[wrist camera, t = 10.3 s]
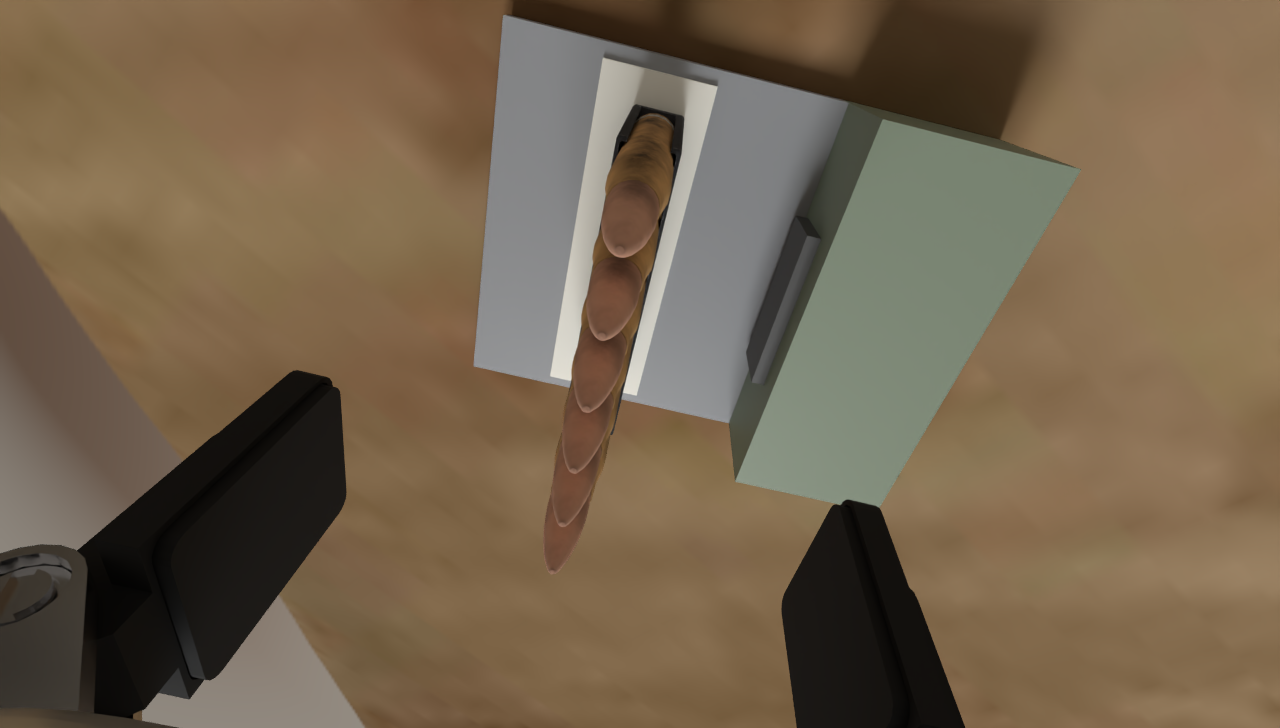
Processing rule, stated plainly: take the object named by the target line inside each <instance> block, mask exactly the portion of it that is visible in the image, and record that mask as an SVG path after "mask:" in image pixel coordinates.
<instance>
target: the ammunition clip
mask: <svg viewBox="0 0 1280 728" xmlns="http://www.w3.org/2000/svg"><path fill="white" fill-rule="evenodd" d="M684 120H685V119H684V117H683V116H682V115H678V114H674V113H670V112H666V111H662V110H658V109H654V108H650V107H646V106H642V105H638V104H635V105H634V106H633V107H632V109H631V111H630V113H629V115H628V116H627V118H626V120H625V122H624V124H623V126H622V128H621V130H620V132H619V134H618V135H617V137H616V143H615V148H614V153H613V159H612V164H611V169H610V171H609V173H608V175H607V180H606V185H605V193H606V196H605V202H604V207H603V212H602V218H601V223H600V228H599V234H598V237H597V239H596V242H595V245H594V250H593V255H592V260H593V266H592V271H591V276H590V282H589V287H588V292H587V296H586V299H585V302H584V305H583V309H582V315H581V324H582V325H581V330H580V335H579V341H578V346H577V349H576V352H575V355H574V359H573V363H572V369H571V383H570V389H569V394H568V397H567V400H566V403H565V407H564V412H563V420H562V424H563V430H562V433H561V436H560V440H559V443H558V446H557V450H556V455H555V463H554V477H553V483H552V487H551V495H550V499H549V503H548V507H547V512H546V518H545V525H544V539H543V544H544V558H545V563H546V566H547V569H548V572H549V573H550V574H555V573H557V572H558V571H559V570H560V569H561V568H562V567H563V566H564V564H565V563H566V562H567V560H568V559H569V557H570V555H571V554H572V552H573V550H574V548H575V546H576V544H577V542H578V540H579V538H580V535H581V532H582V530H583V527H584V524H585V521H586V517H587V513H588V509H589V504H590V502H591V500H592V496H593V492H594V488H595V485H596V483H597V481H598V479H599V477H600V475H601V473H602V471H603V467H604V463H605V459H606V454H607V449H608V444H609V439H610V435H612V434H613V431H614V427H615V423H616V419H617V415H618V411H619V407H620V403H621V399H622V395H623V391H624V387H625V382H626V378H627V374H628V370H629V366H630V362H631V358H632V354H633V350H634V346H635V342H636V338H637V334H638V329H639V325H640V321H641V317H642V313H643V309H644V305H645V301H646V297H647V293H648V289H649V285H650V281H651V277H652V272H653V268H654V264H655V260H656V256H657V252H658V248H659V244H660V240H661V236H662V232H663V228H664V224H665V219H666V215H667V211H668V207H669V203H670V199H671V195H672V191H673V187H674V183H675V179H676V175H677V171H678V167H679V162H680V158H681V154H682V144H683V132H684Z"/></svg>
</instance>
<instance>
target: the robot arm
mask: <svg viewBox="0 0 1280 728" xmlns="http://www.w3.org/2000/svg"><path fill="white" fill-rule="evenodd" d="M345 499H346V477H345V461H344V445H343V429H342V413H341V397H340V391H339V389H338V388H336V387H333V385H332V381H331V380H330V378H327V377H324V376H320V375H316V374H311V373H307V372H303V371H299V370H296V371H292V372H291V373H289V374H288V375H287V376H285V377H284V378H283V379H282V380H281V381H279V382H278V383H277V384H276V385H275V386H274V387H272V388H271V389H270V390H269V391H268V392H266V393H265V394H264V395H263V396H262V397H261V398H259V399H258V400H257V401H256V402H255V403H253V404H252V405H251V406H250V407H249V408H248V409H246V410H245V411H244V412H243V413H242V414H240V415H239V416H238V417H237V418H236V419H235V420H233V421H232V422H231V423H230V424H229V425H227V426H226V427H225V428H224V429H223V430H222V431H220V432H219V433H218V434H216V435H215V436H213V437H211V438H210V439H209V440H208V441H207V442H205V443H204V444H203V445H202V446H201V447H199V448H198V449H197V450H196V451H195V452H194V453H192V454H191V455H190V456H189V457H188V458H186V459H185V460H184V461H183V462H182V463H181V464H179V465H178V466H177V467H176V468H175V469H174V470H172V471H171V472H170V473H169V474H167V475H166V476H165V477H164V478H163V479H162V480H160V481H159V482H158V483H157V484H156V485H154V486H153V487H152V488H151V489H150V490H149V491H147V492H146V493H145V494H144V495H143V496H142V497H140V498H139V499H138V500H137V501H135V503H133V504H132V505H131V506H130V507H128V508H127V509H126V510H125V511H124V512H122V513H121V514H120V515H119V516H118V517H116V518H115V519H114V520H113V521H112V522H111V523H109V524H108V525H107V526H106V527H105V528H104V529H102V530H101V531H100V532H99V533H98V534H96V535H95V536H94V537H93V538H92V539H90V540H89V541H88V542H87V543H86V544H84V545H83V546H82V547H81V548H80V549H78V550H77V551H76V550H75V549H72V548H69V547H65V546H62V545H44V544H40V545H34V546H27V547H20V548H17V549H13V550H10V551H7V552H3V553H0V728H177V727H171V726H166V725H161V724H156V723H150V722H145V721H142V710H144V709H145V708H146V707H147V706H148V705H149V703H150V702H151V701H152V700H153V698H154V697H155V696H156V695H157V693H162V694H167V695H172V696H176V697H180V698H185V699H190V698H191V697H192V695H193V694H194V693H195V691H196V690H197V689H198V687H199V686H200V685H201V683H202V682H203V681H204V680H212V679H214V678H215V677H216V676H217V675H219V673H220V672H221V671H222V670H223V669H224V667H225V666H226V665H227V663H228V662H229V661H230V659H231V658H232V657H233V655H234V654H235V653H236V651H237V650H238V649H239V647H240V646H241V644H242V643H243V642H244V640H245V639H246V638H247V636H248V635H249V634H250V632H251V631H252V630H253V628H254V627H255V626H256V624H257V623H258V622H259V620H260V619H261V618H262V616H263V615H264V613H265V612H266V610H267V609H268V608H269V607H270V605H271V604H272V603H273V601H274V600H275V599H276V597H277V596H278V595H279V593H280V592H281V591H282V589H283V588H284V587H285V585H286V584H287V583H288V581H289V580H290V579H291V577H292V576H293V574H294V573H295V572H296V570H297V569H298V568H299V566H300V565H301V564H302V562H303V561H304V560H305V558H306V557H307V556H308V554H309V553H310V552H311V550H312V549H313V548H314V546H315V545H316V544H317V542H318V541H319V539H320V538H321V537H322V535H323V534H324V533H325V531H326V530H327V529H328V527H329V526H330V525H331V523H332V522H333V521H334V519H335V518H336V517H337V515H338V514H339V512H340V511H341V509H342V507H343V505H344V502H345ZM782 619H783V627H784V634H785V642H786V649H787V657H788V664H789V672H790V679H791V687H792V694H793V702H794V710H795V717H796V725H797V728H965V726H964V723H963V720H962V718H961V715H960V712H959V710H958V707H957V704H956V702H955V699H954V696H953V694H952V691H951V688H950V685H949V683H948V680H947V677H946V675H945V672H944V669H943V667H942V664H941V661H940V659H939V656H938V653H937V650H936V648H935V645H934V642H933V640H932V637H931V634H930V632H929V629H928V626H927V624H926V621H925V618H924V615H923V613H922V610H921V607H920V605H919V602H918V600H917V598H916V596H915V594H914V592H913V591H912V590H911V589H910V588H909V586H908V583H907V580H906V578H905V575H904V572H903V569H902V567H901V564H900V561H899V558H898V556H897V553H896V550H895V547H894V545H893V542H892V539H891V536H890V534H889V531H888V528H887V525H886V523H885V520H884V517H883V514H882V512H881V510H880V508H879V507H877V506H875V505H870V504H866V503H862V502H858V501H853V500H845V501H843V502H842V504H841V505H833V506H832V507H831V509H830V510H829V512H828V514H827V516H826V518H825V520H824V521H823V523H822V525H821V527H820V529H819V531H818V532H817V534H816V536H815V538H814V540H813V542H812V544H811V545H810V547H809V549H808V551H807V553H806V555H805V556H804V558H803V560H802V562H801V564H800V566H799V567H798V569H797V571H796V573H795V575H794V577H793V578H792V580H791V582H790V584H789V586H788V588H787V589H786V591H785V593H784V596H783V600H782Z"/></svg>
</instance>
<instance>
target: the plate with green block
mask: <svg viewBox="0 0 1280 728" xmlns="http://www.w3.org/2000/svg"><path fill="white" fill-rule="evenodd" d="M635 104H638V105H642V106H646V107H650V108H654V109H658V110H662V111H666V112H670V113H674V114H678V115H682V116H683V117H684V119H685V120H684V132H683V144H682V154H681V158H680V162H679V167H678V171H677V175H676V179H675V183H674V187H673V191H672V195H671V199H670V203H669V207H668V211H667V215H666V219H665V224H664V228H663V232H662V236H661V240H660V244H659V248H658V252H657V256H656V260H655V264H654V268H653V272H652V277H651V281H650V285H649V289H648V293H647V297H646V301H645V305H644V309H643V313H642V317H641V321H640V325H639V329H638V334H637V338H636V342H635V346H634V350H633V354H632V358H631V362H630V366H629V370H628V374H627V378H626V382H625V387H624V391H623V395H622V399H623V400H627V401H632V402H636V403H641V404H645V405H650V406H654V407H659V408H663V409H668V410H672V411H677V412H681V413H686V414H690V415H695V416H699V417H704V418H708V419H713V420H717V421H722V422H726V423H729V428H730V437H731V447H732V456H733V466H734V475H735V482H739V483H744V484H749V485H753V486H758V487H762V488H767V489H771V490H776V491H781V492H785V493H790V494H794V495H799V496H804V497H808V498H813V499H817V500H822V501H827V502H831V503H836V504H840V505H841V504H842V502H843V501H845V500H853V501H858V502H862V503H866V504H870V505H875V506H877V507H880V506H881V504H882V502H883V500H884V499H885V497H886V495H887V494H888V492H889V490H890V489H891V487H892V485H893V484H894V482H895V480H896V479H897V477H898V475H899V474H900V472H901V470H902V469H903V467H904V465H905V464H906V462H907V460H908V459H909V457H910V455H911V454H912V452H913V450H914V449H915V447H916V445H917V444H918V442H919V440H920V439H921V437H922V435H923V434H924V432H925V430H926V429H927V427H928V425H929V424H930V422H931V420H932V418H933V417H934V415H935V413H936V412H937V410H938V408H939V407H940V405H941V403H942V402H943V400H944V398H945V397H946V395H947V393H948V392H949V390H950V388H951V387H952V385H953V383H954V382H955V380H956V378H957V377H958V375H959V373H960V372H961V370H962V368H963V367H964V365H965V363H966V362H967V360H968V358H969V357H970V355H971V353H972V352H973V350H974V348H975V347H976V345H977V343H978V342H979V340H980V338H981V336H982V335H983V333H984V331H985V330H986V328H987V326H988V325H989V323H990V321H991V320H992V318H993V316H994V315H995V313H996V311H997V310H998V308H999V306H1000V305H1001V303H1002V301H1003V300H1004V298H1005V296H1006V295H1007V293H1008V291H1009V290H1010V288H1011V286H1012V285H1013V283H1014V281H1015V280H1016V278H1017V276H1018V275H1019V273H1020V271H1021V270H1022V268H1023V266H1024V265H1025V263H1026V261H1027V260H1028V258H1029V256H1030V254H1031V253H1032V251H1033V249H1034V248H1035V246H1036V244H1037V243H1038V241H1039V239H1040V238H1041V236H1042V234H1043V233H1044V231H1045V229H1046V228H1047V226H1048V224H1049V223H1050V221H1051V219H1052V218H1053V216H1054V214H1055V213H1056V211H1057V209H1058V208H1059V206H1060V204H1061V203H1062V201H1063V199H1064V198H1065V196H1066V194H1067V193H1068V191H1069V189H1070V188H1071V186H1072V184H1073V183H1074V181H1075V179H1076V177H1077V176H1078V174H1079V172H1080V171H1081V169H1078V168H1076V167H1073V166H1070V165H1068V164H1065V163H1062V162H1059V161H1057V160H1054V159H1051V158H1049V157H1046V156H1043V155H1040V154H1038V153H1035V152H1032V151H1029V150H1027V149H1024V148H1021V147H1019V146H1016V145H1013V144H1010V143H1008V142H1005V141H1002V140H999V139H995V138H991V137H987V136H983V135H979V134H976V133H972V132H968V131H964V130H960V129H956V128H952V127H948V126H944V125H940V124H936V123H932V122H928V121H924V120H921V119H917V118H913V117H909V116H905V115H901V114H897V113H893V112H889V111H885V110H881V109H877V108H873V107H870V106H866V105H862V104H858V103H854V102H850V101H846V100H842V99H838V98H834V97H830V96H826V95H822V94H818V93H815V92H811V91H807V90H803V89H799V88H795V87H791V86H787V85H783V84H779V83H775V82H771V81H767V80H763V79H760V78H756V77H752V76H748V75H744V74H740V73H736V72H732V71H728V70H724V69H720V68H716V67H712V66H709V65H705V64H701V63H697V62H693V61H689V60H685V59H681V58H677V57H673V56H669V55H665V54H661V53H657V52H654V51H650V50H646V49H642V48H638V47H634V46H630V45H626V44H622V43H618V42H614V41H610V40H606V39H602V38H599V37H595V36H591V35H587V34H583V33H579V32H575V31H571V30H567V29H563V28H559V27H555V26H551V25H548V24H544V23H540V22H536V21H532V20H528V19H524V18H520V17H516V16H512V15H503V24H502V36H501V48H500V60H499V72H498V84H497V96H496V107H495V119H494V131H493V143H492V155H491V167H490V179H489V191H488V202H487V214H486V226H485V238H484V250H483V262H482V274H481V286H480V297H479V309H478V321H477V333H476V345H475V357H474V366H475V367H480V368H484V369H489V370H493V371H497V372H502V373H506V374H511V375H515V376H520V377H524V378H529V379H533V380H538V381H542V382H547V383H551V384H556V385H560V386H565V387H569V388H570V383H571V369H572V363H573V359H574V355H575V352H576V349H577V346H578V341H579V335H580V330H581V325H582V324H581V315H582V309H583V305H584V302H585V299H586V296H587V292H588V287H589V282H590V276H591V271H592V266H593V260H592V255H593V250H594V245H595V242H596V239H597V237H598V234H599V228H600V223H601V218H602V212H603V207H604V202H605V196H606V193H605V185H606V180H607V175H608V173H609V171H610V169H611V164H612V159H613V153H614V148H615V143H616V137H617V135H618V134H619V132H620V130H621V128H622V126H623V124H624V122H625V120H626V118H627V116H628V115H629V113H630V111H631V109H632V107H633V106H634V105H635Z"/></svg>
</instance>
